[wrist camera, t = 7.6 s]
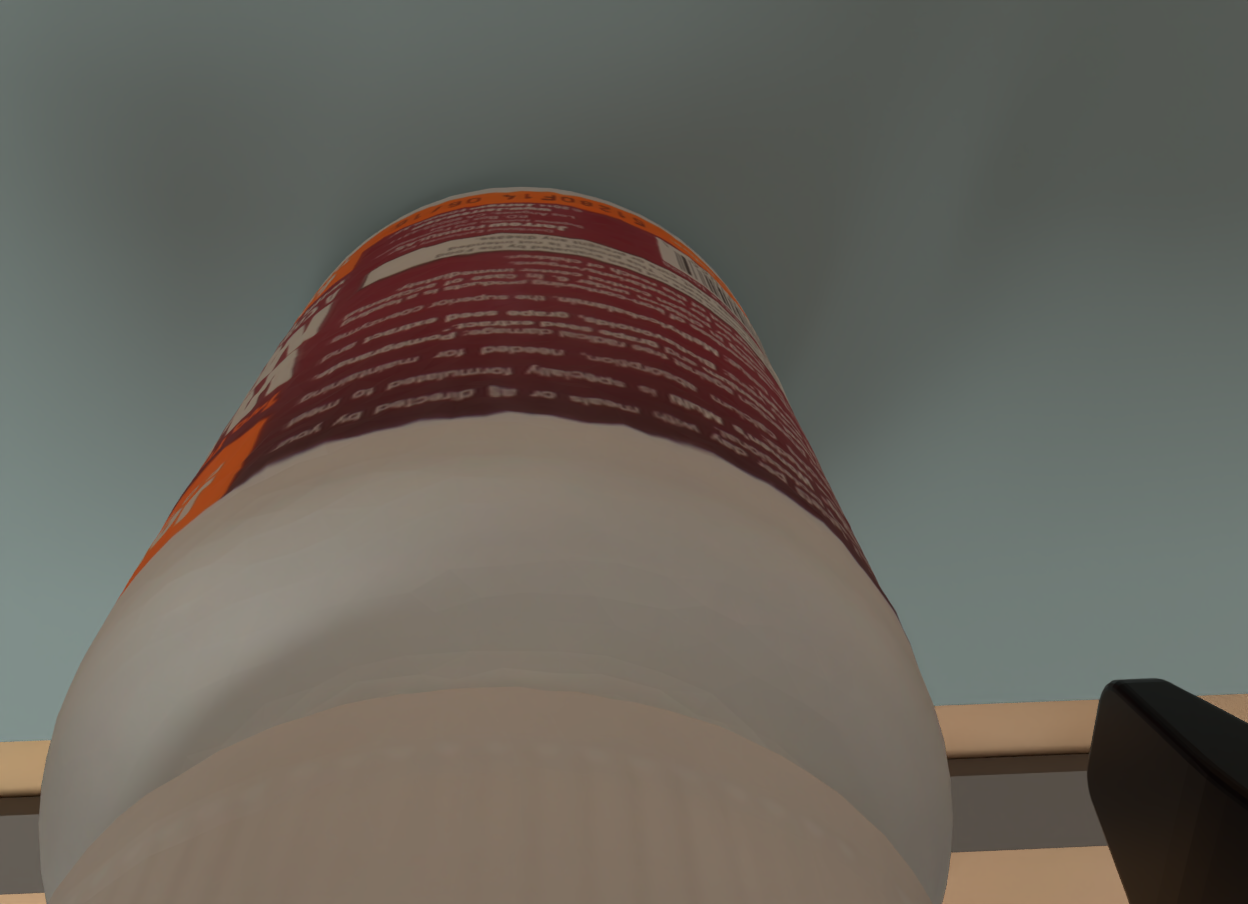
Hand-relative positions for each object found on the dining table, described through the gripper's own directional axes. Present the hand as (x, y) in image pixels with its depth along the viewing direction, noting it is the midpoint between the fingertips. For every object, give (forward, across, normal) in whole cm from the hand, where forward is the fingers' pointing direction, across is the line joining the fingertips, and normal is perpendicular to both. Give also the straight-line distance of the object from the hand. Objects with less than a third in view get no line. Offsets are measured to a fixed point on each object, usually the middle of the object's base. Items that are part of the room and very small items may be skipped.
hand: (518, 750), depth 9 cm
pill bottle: (+7, 0, 0) cm, 7 cm away
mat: (+7, 0, 0) cm, 7 cm away
